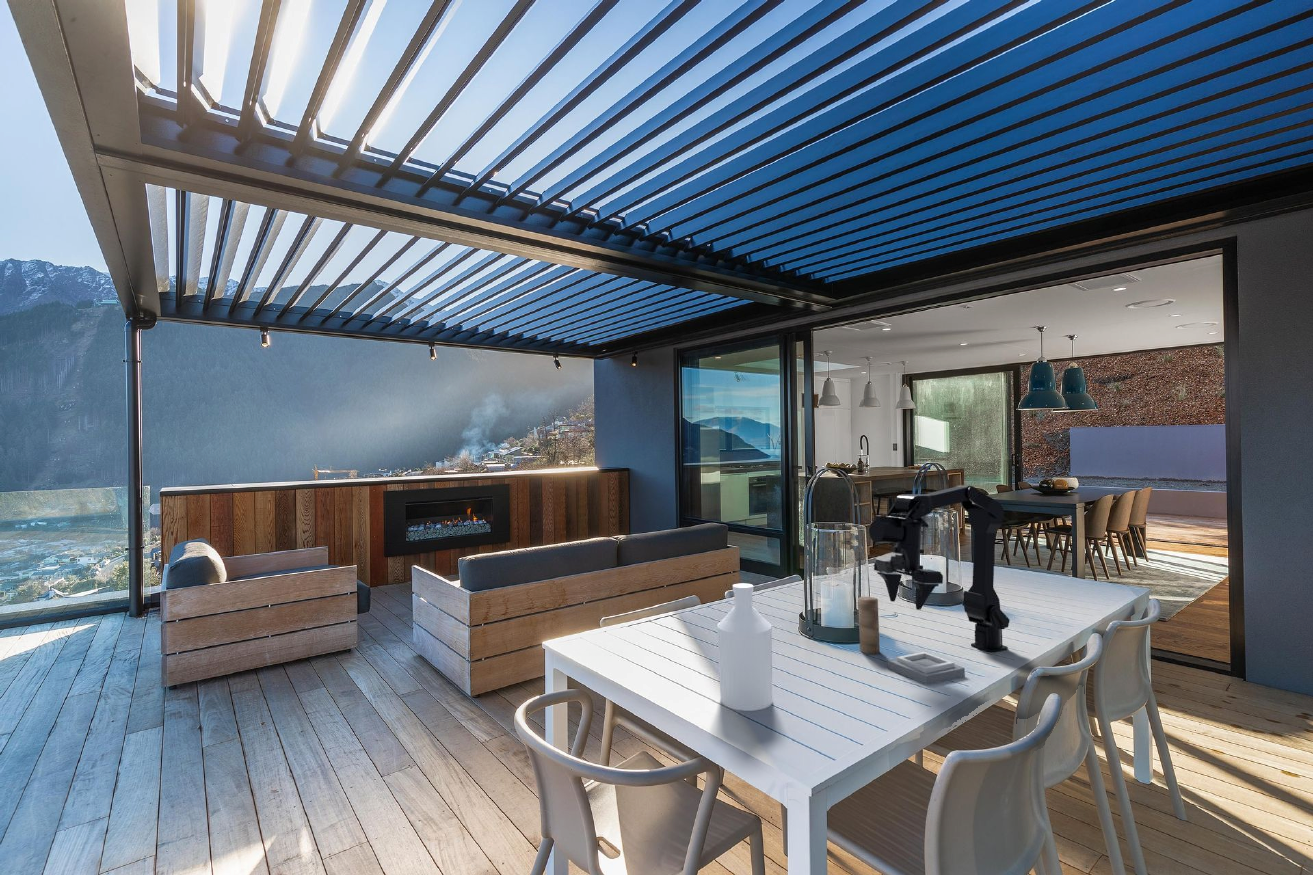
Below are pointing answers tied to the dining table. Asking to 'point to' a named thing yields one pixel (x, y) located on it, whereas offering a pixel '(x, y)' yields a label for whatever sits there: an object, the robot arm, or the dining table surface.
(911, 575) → the robot arm
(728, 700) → the bottle
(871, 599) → the post
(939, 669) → the base
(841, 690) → the dining table surface
